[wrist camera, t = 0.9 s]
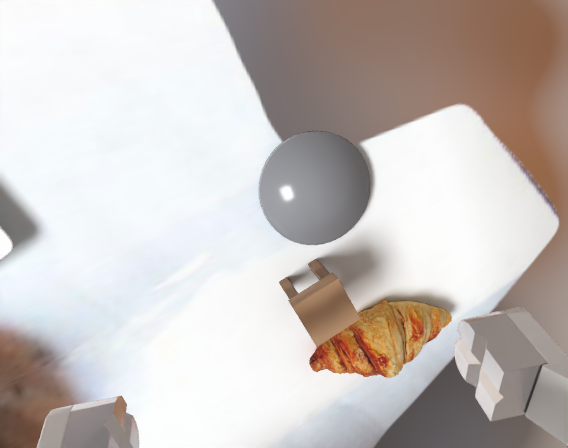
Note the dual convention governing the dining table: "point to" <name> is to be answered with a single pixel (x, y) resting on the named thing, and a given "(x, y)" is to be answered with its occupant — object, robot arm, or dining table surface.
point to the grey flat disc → (314, 187)
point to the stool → (322, 305)
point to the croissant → (381, 339)
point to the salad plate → (5, 243)
